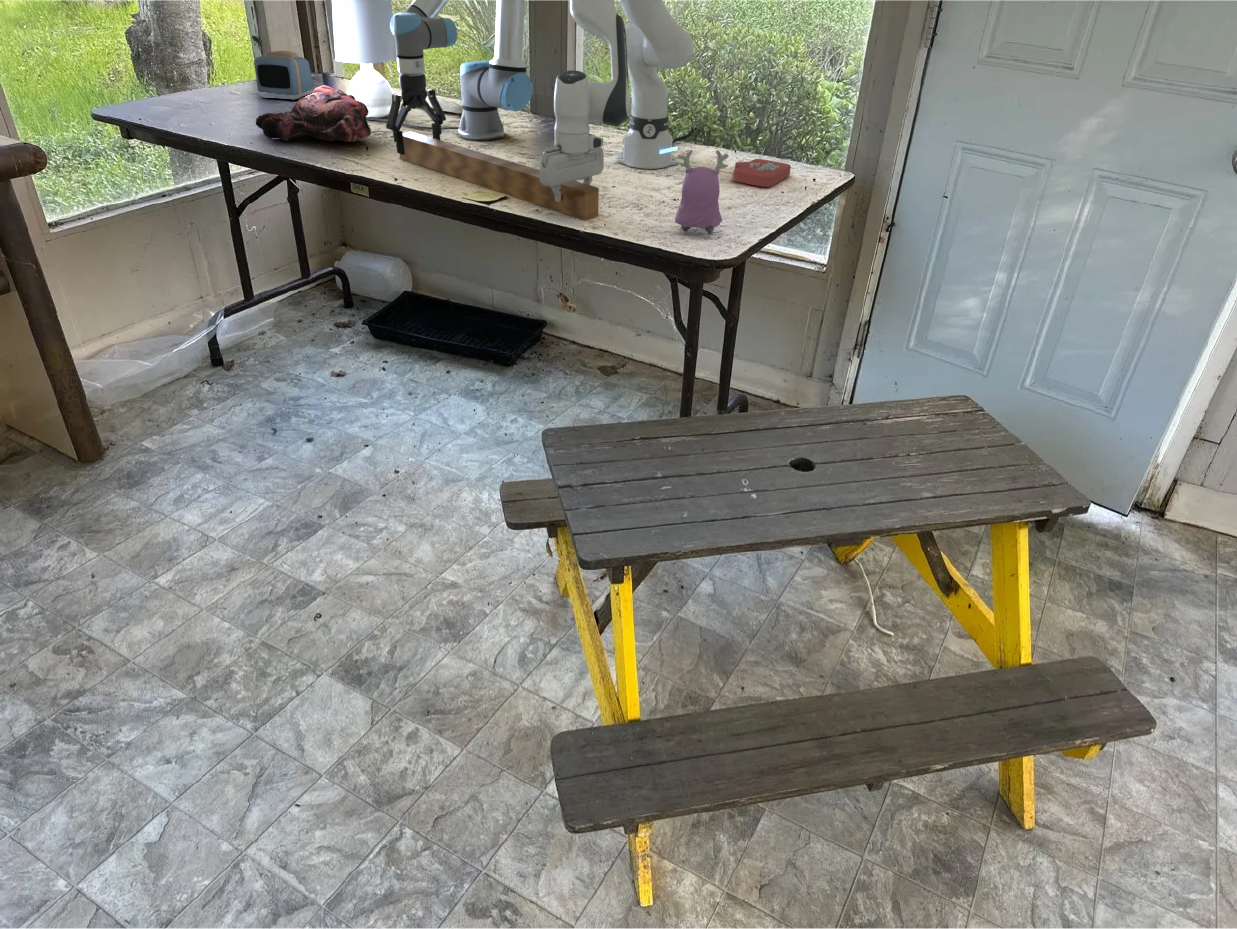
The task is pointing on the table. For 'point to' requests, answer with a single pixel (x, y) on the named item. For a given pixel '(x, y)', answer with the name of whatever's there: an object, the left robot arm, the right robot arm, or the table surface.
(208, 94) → the table surface
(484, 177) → the post
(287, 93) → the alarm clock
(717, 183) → the toy character
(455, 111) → the stone tool
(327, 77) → the beverage can
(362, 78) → the lamp
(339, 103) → the raw meat chunk
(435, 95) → the left robot arm
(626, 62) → the right robot arm
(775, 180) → the plaque
